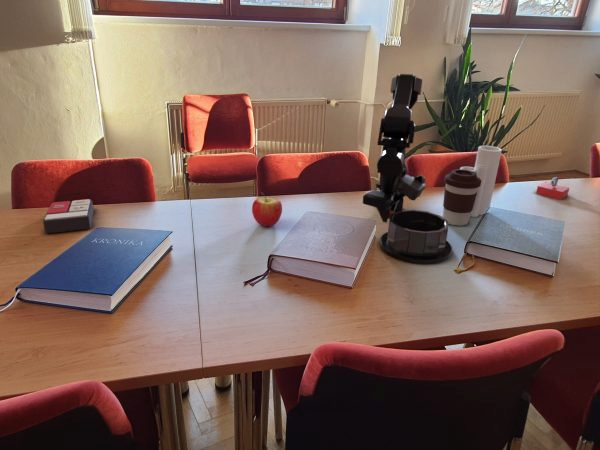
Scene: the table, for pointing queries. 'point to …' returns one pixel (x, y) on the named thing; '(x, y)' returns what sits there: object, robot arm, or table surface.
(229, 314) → the table surface
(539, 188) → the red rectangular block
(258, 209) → the apple
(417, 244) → the bowl
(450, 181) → the coffee cup
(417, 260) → the turntable
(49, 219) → the grey labelled box
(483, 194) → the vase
